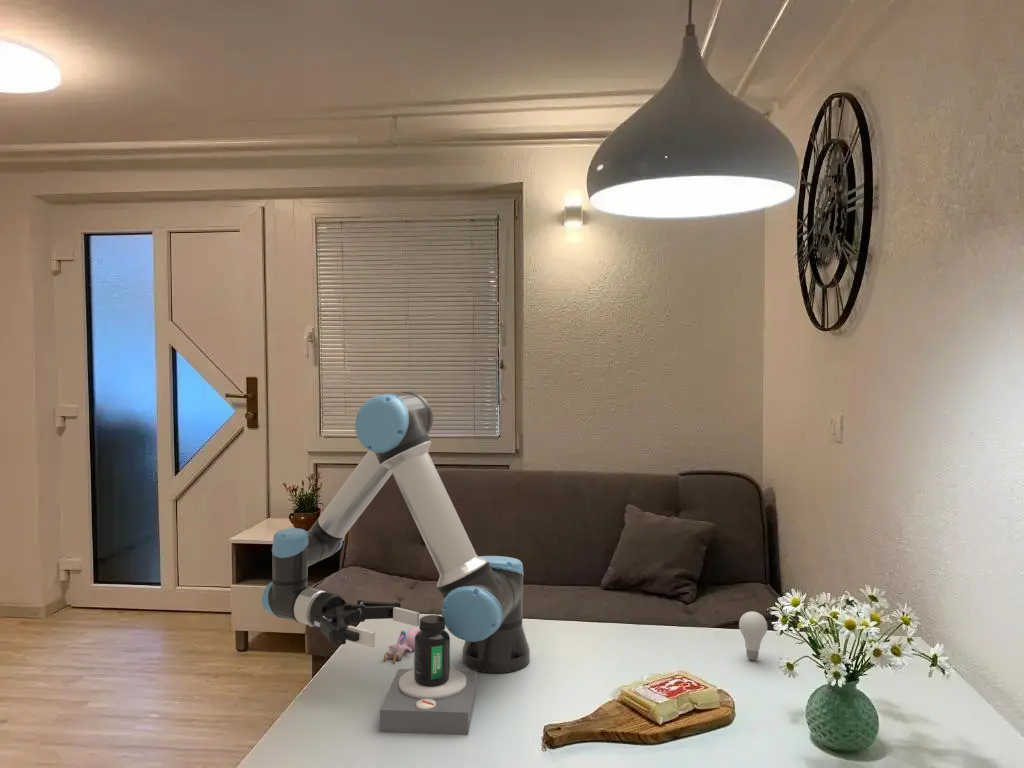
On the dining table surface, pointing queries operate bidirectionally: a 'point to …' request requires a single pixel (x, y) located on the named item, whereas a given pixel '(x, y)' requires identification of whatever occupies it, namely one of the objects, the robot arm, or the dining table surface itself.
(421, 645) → the supplement bottle
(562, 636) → the dining table surface
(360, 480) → the robot arm
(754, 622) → the lightbulb
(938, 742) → the dining table surface
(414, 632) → the pink unicorn toy
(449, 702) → the kitchen scale
